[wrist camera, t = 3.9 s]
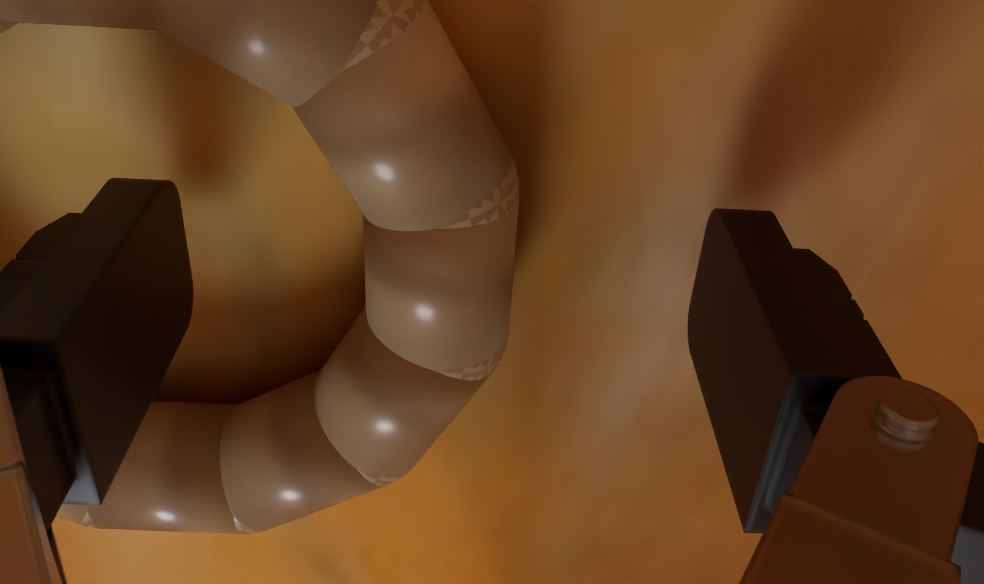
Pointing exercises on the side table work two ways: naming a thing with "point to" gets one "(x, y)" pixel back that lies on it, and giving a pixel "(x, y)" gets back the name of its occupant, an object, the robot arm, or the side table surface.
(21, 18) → the ring
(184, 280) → the robot arm
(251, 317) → the side table surface
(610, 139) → the side table surface
